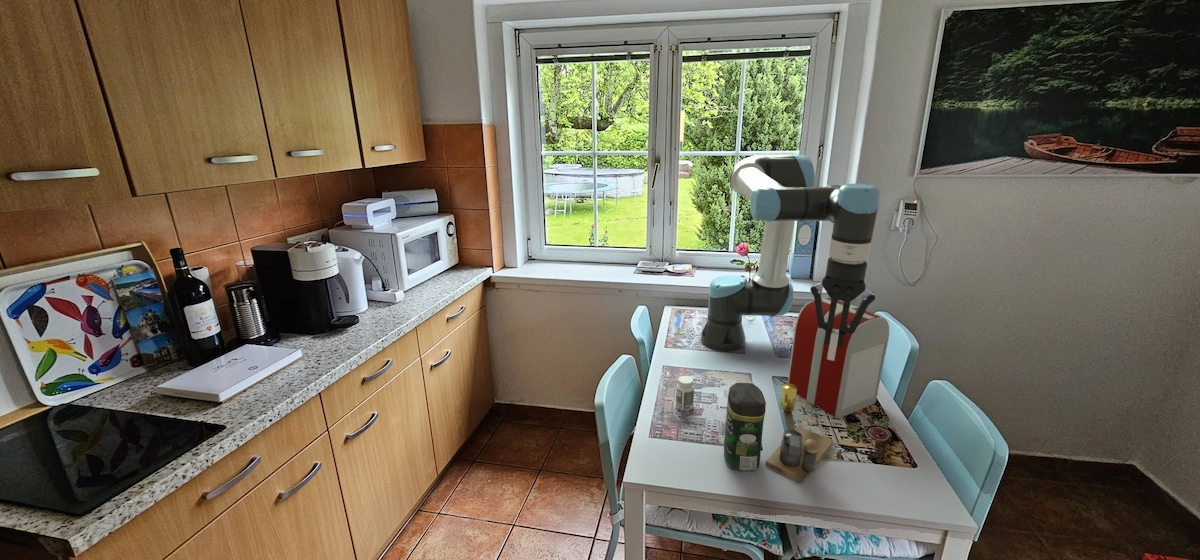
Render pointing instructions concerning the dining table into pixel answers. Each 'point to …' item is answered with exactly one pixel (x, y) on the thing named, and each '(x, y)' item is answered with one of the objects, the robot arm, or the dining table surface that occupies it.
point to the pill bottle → (685, 393)
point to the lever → (790, 419)
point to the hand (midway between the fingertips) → (830, 357)
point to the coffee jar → (744, 426)
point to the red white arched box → (838, 360)
